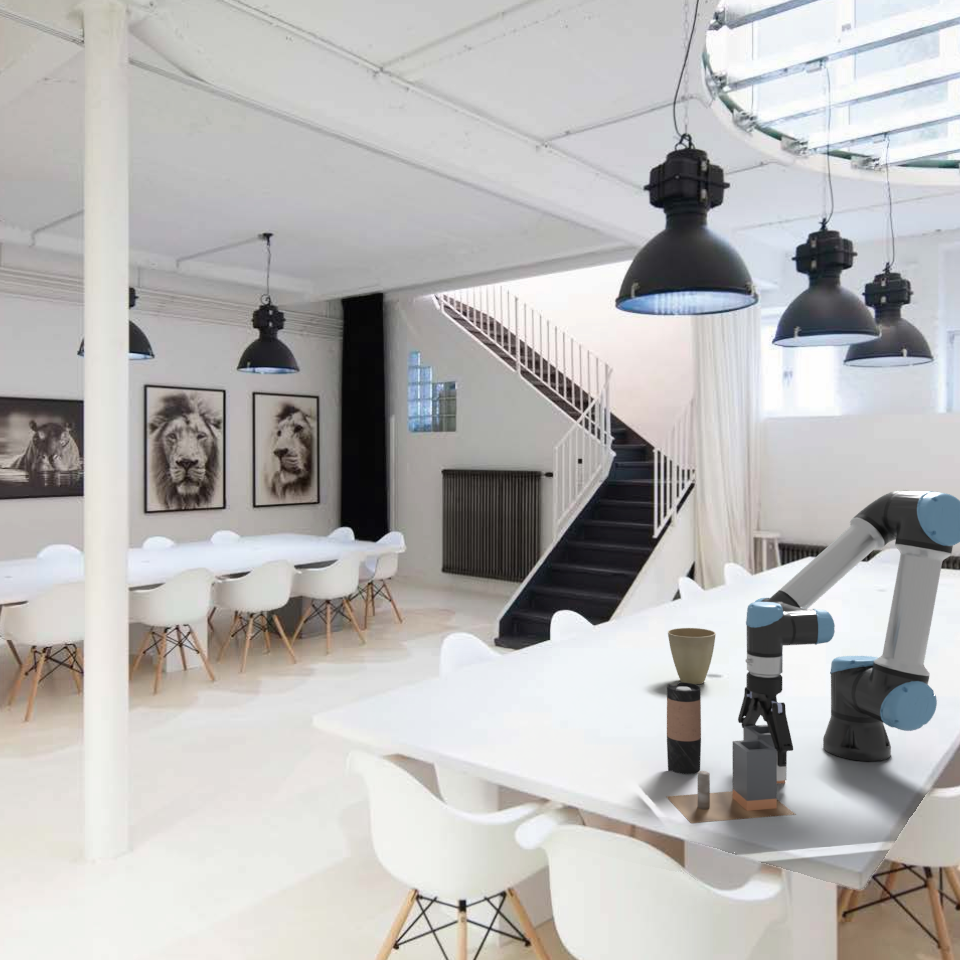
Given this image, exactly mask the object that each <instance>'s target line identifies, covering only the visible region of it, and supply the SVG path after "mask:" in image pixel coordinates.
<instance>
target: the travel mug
mask: <svg viewBox="0 0 960 960" xmlns="http://www.w3.org/2000/svg"><path fill="white" fill-rule="evenodd" d="M701 692H702V691H701V686H700V685H699V684H692V683H684V682H681V681H680V682H678V683H676V684H675V685H674V684H673V685H671V684H670V683H669V684H667V686H666V749H667V750H666V751H667V753H666V755H667V772H673V773H676V774H680V775H693V774H698V772H699V771H701V754H702V753H701V752H702V749H701V748H702V708H701V707H702V704H701V703H702V702H701V700H702V699H701V695H702V694H701Z"/></svg>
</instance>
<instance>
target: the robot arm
mask: <svg viewBox="0 0 960 960" xmlns="http://www.w3.org/2000/svg"><path fill="white" fill-rule="evenodd" d="M849 523H850V524H849V525H850V526H849V527H848V528H847V529H846V530H844V531H843V532H842V533H841V534H840V535H839V536H837V538H835V540H834V541H832V542H831V543H830V544H829V545H828V546H827V547H825V549H823V550H822V551H821V552H820V553H819V554H818V555H817V556H816V557H814V558H813V559H812V560H811V561H810V562H809V563H808V564H807V565H805V566H804V567H803V568H802V569H801V570H800V571H799V572H797V574H796V575H794V576H793V577H792V578H790V580H789V581H788V582H786V583H785V584H784V585H783V586H782V587H781V588H779V590H777V591H776V592H775V593H774V594H772V596H771V597H761V598H757V599H756V600H755V601H754V602H751V603H750V604H749V605H747V610H746V619H745V620H746V621H745V626H746V658H745V663H746V670H747V671H748V672H747V673H746V687H744V692H743V693H744V695H743V700H742V704H741V707H740V711H739V713H738V718H737V723H739V724H741V728H742V730H743V731H742V734H743V736H742V737H743V739H742V740H744V726H755V725H757V722H758V720H759V718H760V716H761V717H762V719H763V721H764V722H766V725H768V728H769V731H770V734H771V737H772V740H773V743H774V746H775V749H776V750H777V781H783V780H785V781H787V771H788V770H787V769H788V767H787V758H788V755H787V754H788V752H789V751H791V752H793V751H794V746H793V741H792V735H791V732H790V731H791V730H790V728H789V723H788V717H787V714H786V711H787V710H786V704H785V702H778V699H777V695H778V694H781V693H782V691H783V676H782V675H781V674H783V672H784V671H783V665H784V663H783V661H784V660H783V655H784V654H783V648H784V646H800V645H815V646H816V645H819V644H820V645H821V644H825V643H826V644H827V643H829V642H830V641H832V640H833V638H834V636H835V632H836V631H835V627H836V625H835V620H834V619H833V616H832V614H831V613H829V611H827V610H825V609H816V608H812V609H809V608H811V606H812V605H814V603H817V601H818V600H819V599H820V598H821V597H823V596H824V595H826V593H827V592H828V591H829V590H831V589H832V588H833V587H834V586H835V585H836V584H837V583H838V582H840V581H841V580H842V579H843V578H844V577H845V576H846V575H847V574H848V573H849V572H851V571H852V570H853V569H854V568H855V567H856V566H857V565H858V564H859V563H860V562H862V561H863V560H864V559H865V558H866V557H868V556H869V554H870V553H871V552H873V551H874V550H875V549H876V550H881V549H883V548H884V547H885V546H886V545H887V544H888V543H890V542H893V541H894V546H895V548H896V549H897V550H898V551H899V553H900V557H899V562H898V567H897V573H896V579H895V584H894V589H893V594H892V599H891V606H890V611H889V616H888V623H887V628H886V634H885V639H884V646H883V650H882V654H881V656H880V657H877V656H872V655H868V656H867V655H845V656H844V655H843V656H837V657H835V658H833V659H832V660H831V666H830V673H829V674H830V718H829V721H828V724H827V726H826V728H825V733H824V734H823V738H822V739H823V742H822V747H823V749H824V750H825V751H826V752H827V753H829V754H831V755H833V756H836V757H840V758H843V759H848V760H853V761H861V762H862V761H863V762H878V761H884V760H887V759H889V758H890V757H891V755H892V746H891V742H890V738H889V737H888V733H887V730H886V727H885V725H886V726H888V727H890V728H893V729H894V728H895V729H897V730H900V731H905V732H913V731H917V730H919V729H921V728H922V727H923V726H925V725H927V724H928V723H929V722H930V721H931V720H932V718H933V717H934V715H935V712H936V709H937V705H938V702H937V701H938V700H937V696H936V694H935V693H934V689H932V687H931V686H930V685H929V682H930V681H929V680H930V671H928V669H927V668H926V667H925V659H926V654H927V649H928V644H929V637H930V630H931V626H932V621H933V617H934V616H933V615H934V611H935V605H936V604H935V603H936V598H937V593H938V587H939V581H940V576H941V571H942V566H943V565H942V564H943V561H944V560H945V559H947V558H950V556H952V553H953V548H954V546H955V545H958V544H960V499H958V498H957V497H956V496H954V495H952V494H949V493H945V492H939V491H933V490H932V491H924V490H923V491H921V490H909V489H907V490H906V489H901V490H894V491H890V492H888V493H886V494H884V495H883V494H882V496H880V497H878V498H877V499H875V500H873V501H872V502H871V503H869V504H868V505H866V507H864V508H863V509H862V510H860V511H859V512H858V513H857V514H856V515H855V516H854V517H853V518H852V519H851V520H850V522H849Z"/></svg>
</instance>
